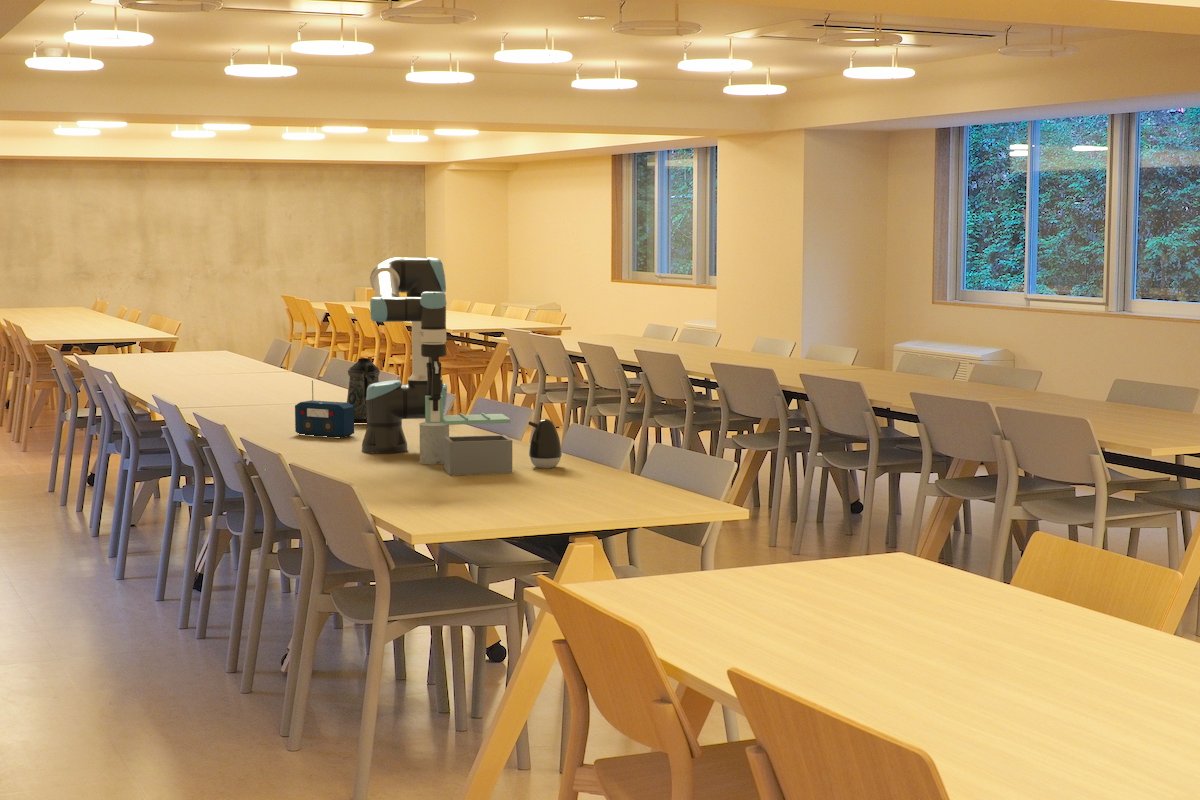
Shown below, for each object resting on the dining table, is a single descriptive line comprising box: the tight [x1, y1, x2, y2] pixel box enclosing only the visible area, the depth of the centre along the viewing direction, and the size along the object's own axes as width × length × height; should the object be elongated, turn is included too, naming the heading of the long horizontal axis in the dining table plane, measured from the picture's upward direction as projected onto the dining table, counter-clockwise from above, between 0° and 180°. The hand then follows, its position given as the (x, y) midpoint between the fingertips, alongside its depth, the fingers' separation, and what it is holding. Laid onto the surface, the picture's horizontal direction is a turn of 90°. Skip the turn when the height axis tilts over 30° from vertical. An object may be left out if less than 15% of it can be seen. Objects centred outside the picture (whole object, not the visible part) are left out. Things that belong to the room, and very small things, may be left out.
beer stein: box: [346, 357, 381, 423], centre depth 501 cm, size 16×19×25 cm
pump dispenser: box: [527, 418, 563, 469], centre depth 400 cm, size 10×10×15 cm
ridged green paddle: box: [424, 395, 511, 426], centre depth 391 cm, size 13×25×8 cm, turn 105°
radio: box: [294, 380, 355, 439], centre depth 465 cm, size 21×9×20 cm, turn 67°
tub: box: [443, 434, 513, 476], centre depth 393 cm, size 12×19×10 cm, turn 105°
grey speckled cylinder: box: [418, 421, 450, 465], centre depth 409 cm, size 10×10×12 cm
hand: (434, 420), depth 388 cm, fingers closed on ridged green paddle, 3 cm apart
